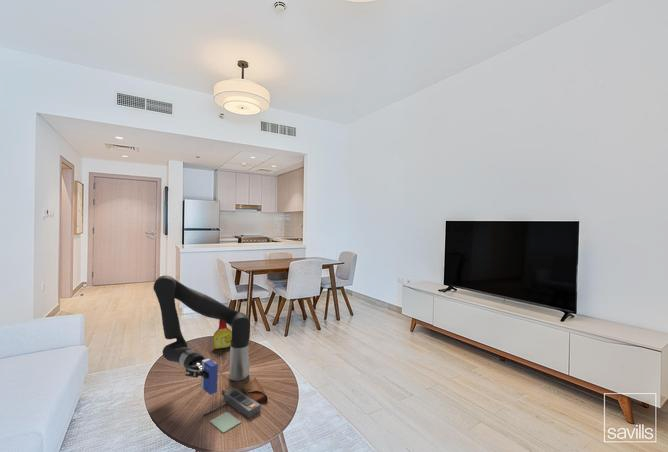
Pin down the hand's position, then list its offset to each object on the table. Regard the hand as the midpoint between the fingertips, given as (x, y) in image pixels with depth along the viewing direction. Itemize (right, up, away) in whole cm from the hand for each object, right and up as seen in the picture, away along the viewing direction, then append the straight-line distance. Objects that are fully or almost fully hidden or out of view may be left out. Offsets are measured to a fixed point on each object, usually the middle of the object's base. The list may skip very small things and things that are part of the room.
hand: (212, 374), depth 123 cm
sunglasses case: (+11, -21, +21) cm, 32 cm away
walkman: (-2, -7, +1) cm, 7 cm away
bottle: (-22, -18, +70) cm, 76 cm away
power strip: (+3, -20, +9) cm, 22 cm away
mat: (+5, -20, 0) cm, 21 cm away
